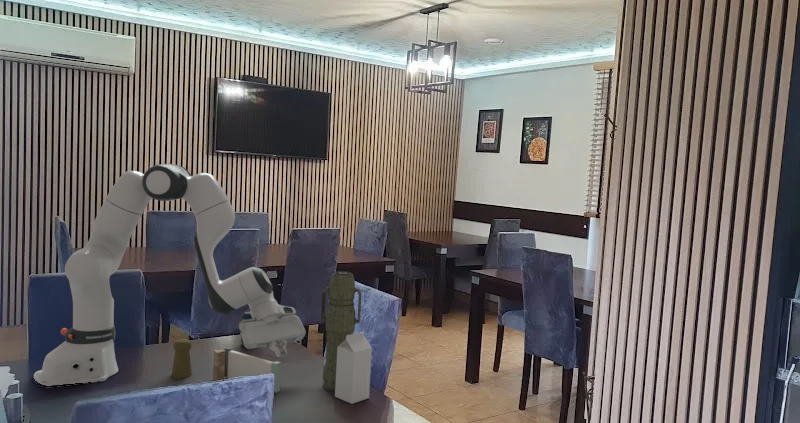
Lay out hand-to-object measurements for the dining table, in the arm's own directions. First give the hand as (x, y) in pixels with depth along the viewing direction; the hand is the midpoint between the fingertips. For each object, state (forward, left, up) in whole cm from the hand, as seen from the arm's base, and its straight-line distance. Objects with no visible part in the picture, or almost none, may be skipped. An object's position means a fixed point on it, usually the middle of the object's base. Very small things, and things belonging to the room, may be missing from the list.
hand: (282, 355), depth 188 cm
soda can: (+12, +40, -9) cm, 43 cm away
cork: (-21, +23, -9) cm, 33 cm away
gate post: (-14, +13, -9) cm, 21 cm away
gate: (-8, +4, -8) cm, 12 cm away
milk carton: (+11, -21, -9) cm, 25 cm away
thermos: (+13, -11, -9) cm, 19 cm away
